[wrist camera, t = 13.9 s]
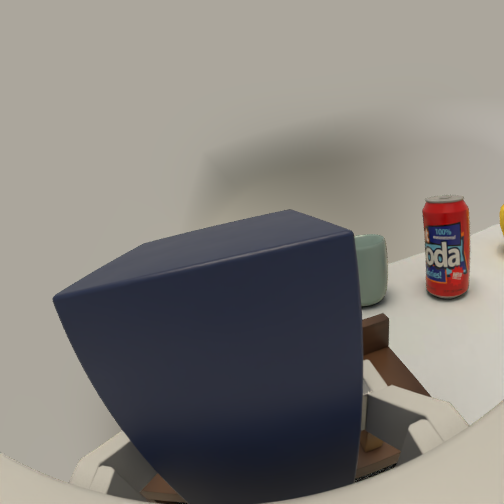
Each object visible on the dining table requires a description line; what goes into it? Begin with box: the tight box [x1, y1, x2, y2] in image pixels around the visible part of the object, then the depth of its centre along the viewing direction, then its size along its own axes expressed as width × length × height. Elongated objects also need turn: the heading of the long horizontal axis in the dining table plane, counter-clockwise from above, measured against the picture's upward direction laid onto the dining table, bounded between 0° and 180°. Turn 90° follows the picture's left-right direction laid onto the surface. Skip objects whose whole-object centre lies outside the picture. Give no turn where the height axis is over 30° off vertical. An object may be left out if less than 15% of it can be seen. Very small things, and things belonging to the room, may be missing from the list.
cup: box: [354, 234, 388, 306], centre depth 40 cm, size 8×8×10 cm
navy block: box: [53, 209, 363, 504], centre depth 7 cm, size 5×5×13 cm
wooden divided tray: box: [139, 313, 431, 504], centre depth 17 cm, size 22×12×8 cm, turn 92°
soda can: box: [422, 195, 470, 299], centre depth 33 cm, size 8×8×15 cm
